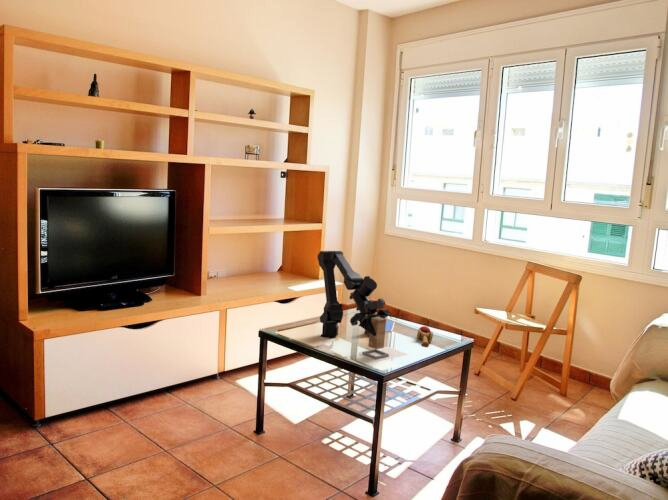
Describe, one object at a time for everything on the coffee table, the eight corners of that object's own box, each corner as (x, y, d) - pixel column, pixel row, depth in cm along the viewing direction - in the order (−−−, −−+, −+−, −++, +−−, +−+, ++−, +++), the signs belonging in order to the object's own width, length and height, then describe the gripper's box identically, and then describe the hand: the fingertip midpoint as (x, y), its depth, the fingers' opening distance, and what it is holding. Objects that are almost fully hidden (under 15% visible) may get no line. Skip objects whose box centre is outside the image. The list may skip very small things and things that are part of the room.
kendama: (435, 351, 255) (433, 335, 272) (434, 338, 253) (431, 322, 270) (417, 352, 256) (416, 336, 273) (416, 339, 254) (415, 324, 272)
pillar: (368, 346, 235) (370, 317, 234) (375, 344, 238) (378, 316, 237) (376, 349, 232) (378, 320, 230) (383, 347, 235) (386, 319, 233)
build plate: (355, 355, 237) (356, 351, 236) (387, 348, 249) (387, 344, 249) (376, 364, 228) (377, 359, 228) (408, 356, 240) (408, 351, 240)
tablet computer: (370, 321, 297) (370, 318, 297) (394, 323, 295) (395, 321, 294) (365, 330, 278) (365, 328, 278) (391, 333, 276) (391, 331, 275)
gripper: (357, 293, 229) (374, 327, 222) (389, 290, 241) (406, 321, 235) (342, 308, 236) (359, 341, 229) (374, 304, 248) (390, 335, 242)
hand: (379, 334), depth 233 cm, fingers closed on pillar, 4 cm apart
